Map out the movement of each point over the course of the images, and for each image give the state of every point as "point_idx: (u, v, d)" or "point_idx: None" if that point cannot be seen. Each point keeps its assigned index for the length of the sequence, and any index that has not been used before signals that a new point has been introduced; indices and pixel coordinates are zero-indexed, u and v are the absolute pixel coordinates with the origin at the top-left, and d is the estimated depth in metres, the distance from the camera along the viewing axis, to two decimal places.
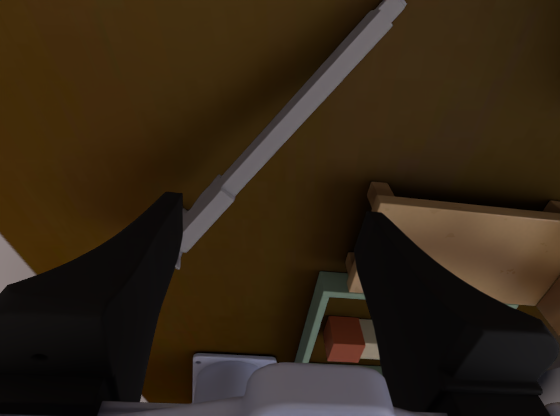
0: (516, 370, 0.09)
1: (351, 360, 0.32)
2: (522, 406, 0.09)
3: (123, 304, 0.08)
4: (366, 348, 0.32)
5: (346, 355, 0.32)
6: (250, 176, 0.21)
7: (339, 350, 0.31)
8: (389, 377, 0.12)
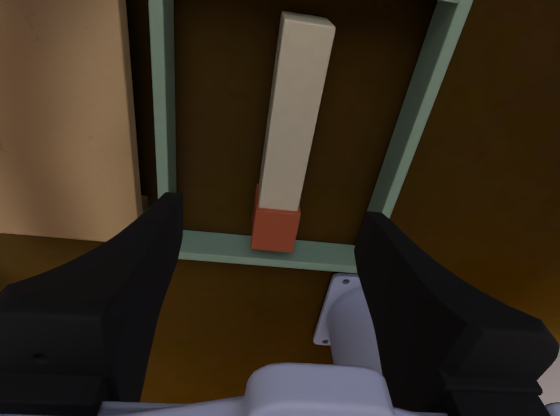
0: (516, 370, 0.09)
1: (294, 224, 0.21)
2: (522, 406, 0.09)
3: (123, 304, 0.08)
4: (271, 203, 0.20)
5: (280, 231, 0.21)
6: None
7: (266, 241, 0.21)
8: (389, 377, 0.12)
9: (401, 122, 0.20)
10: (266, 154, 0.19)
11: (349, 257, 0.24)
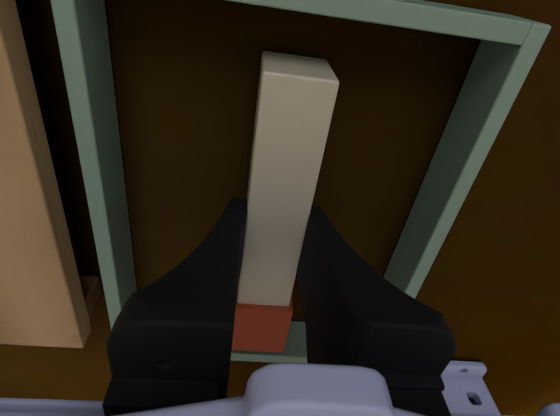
0: (415, 365, 0.08)
1: (284, 322, 0.16)
2: (421, 402, 0.08)
3: None
4: (254, 298, 0.15)
5: (266, 331, 0.16)
6: None
7: (249, 341, 0.16)
8: None
9: (427, 192, 0.15)
10: (244, 243, 0.14)
11: None
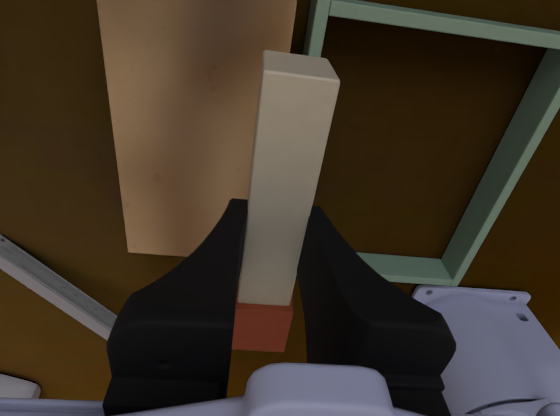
0: (416, 365, 0.08)
1: (284, 322, 0.16)
2: (421, 402, 0.08)
3: None
4: (254, 298, 0.15)
5: (266, 330, 0.16)
6: None
7: (250, 341, 0.16)
8: None
9: (503, 150, 0.22)
10: (245, 242, 0.14)
11: (439, 271, 0.26)
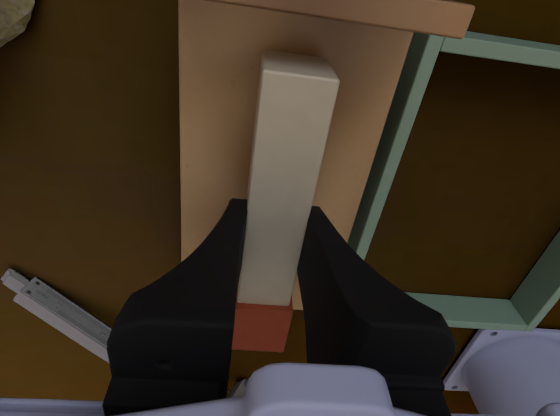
0: (416, 365, 0.08)
1: (284, 322, 0.16)
2: (422, 402, 0.08)
3: None
4: (254, 298, 0.15)
5: (266, 330, 0.16)
6: None
7: (249, 341, 0.16)
8: None
9: None
10: (244, 242, 0.14)
11: (511, 314, 0.24)
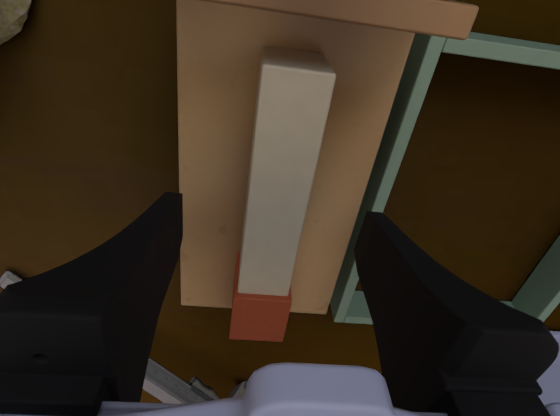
0: (516, 370, 0.09)
1: (283, 311, 0.16)
2: (522, 406, 0.09)
3: (123, 304, 0.08)
4: (253, 288, 0.16)
5: (265, 320, 0.16)
6: (163, 392, 0.24)
7: (249, 330, 0.17)
8: (389, 377, 0.12)
9: None
10: (244, 233, 0.14)
11: None
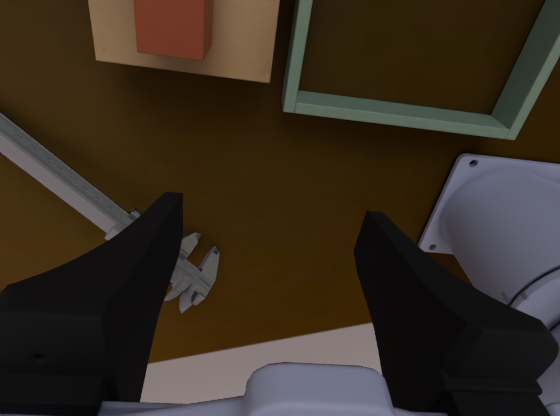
0: (516, 370, 0.09)
1: None
2: (522, 406, 0.09)
3: (123, 304, 0.08)
4: None
5: (177, 15, 0.13)
6: (92, 207, 0.21)
7: (159, 35, 0.14)
8: (389, 377, 0.12)
9: None
10: None
11: (491, 122, 0.21)
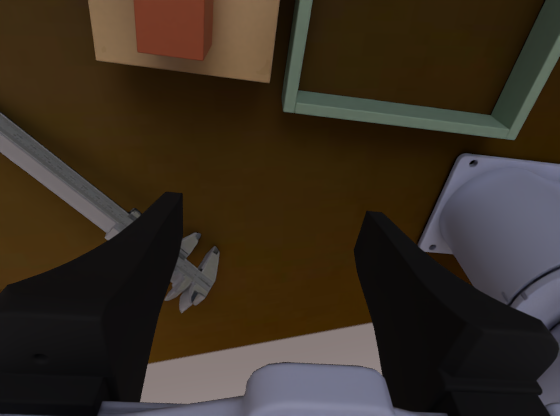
0: (516, 370, 0.09)
1: None
2: (522, 406, 0.09)
3: (123, 304, 0.08)
4: None
5: (177, 15, 0.13)
6: (92, 207, 0.21)
7: (159, 35, 0.14)
8: (389, 377, 0.12)
9: None
10: None
11: (491, 122, 0.21)
